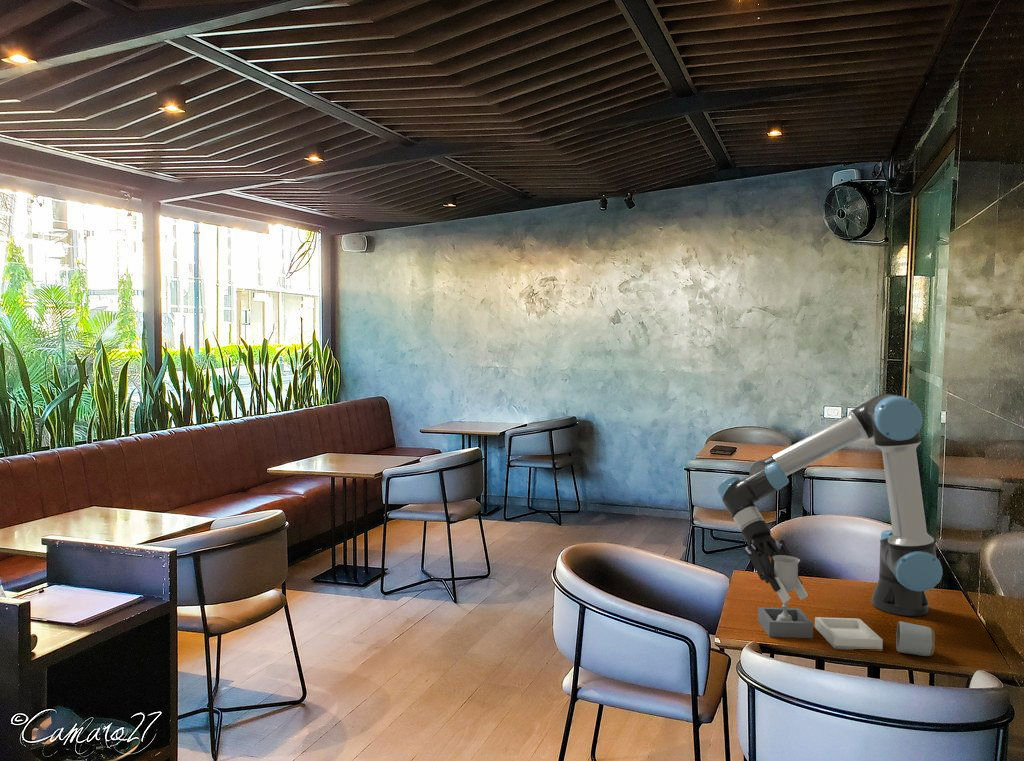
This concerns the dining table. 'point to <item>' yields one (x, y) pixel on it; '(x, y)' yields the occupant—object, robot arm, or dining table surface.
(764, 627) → the charcoal collar
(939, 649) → the dining table surface
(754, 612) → the dining table surface
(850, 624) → the off-white tray
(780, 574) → the chalice
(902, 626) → the ceramic mug
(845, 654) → the dining table surface
